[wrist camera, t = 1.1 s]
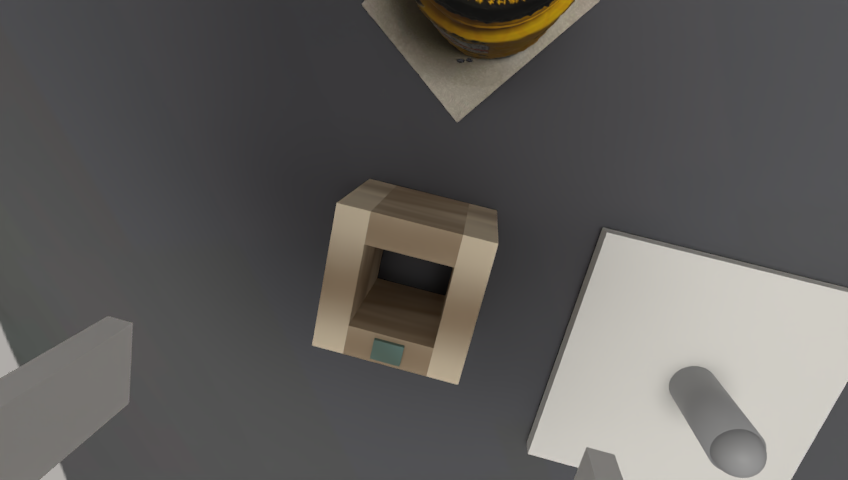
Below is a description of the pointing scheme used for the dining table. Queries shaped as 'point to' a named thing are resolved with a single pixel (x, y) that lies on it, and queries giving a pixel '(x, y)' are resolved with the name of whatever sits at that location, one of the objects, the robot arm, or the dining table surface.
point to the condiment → (472, 40)
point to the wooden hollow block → (399, 304)
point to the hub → (693, 365)
